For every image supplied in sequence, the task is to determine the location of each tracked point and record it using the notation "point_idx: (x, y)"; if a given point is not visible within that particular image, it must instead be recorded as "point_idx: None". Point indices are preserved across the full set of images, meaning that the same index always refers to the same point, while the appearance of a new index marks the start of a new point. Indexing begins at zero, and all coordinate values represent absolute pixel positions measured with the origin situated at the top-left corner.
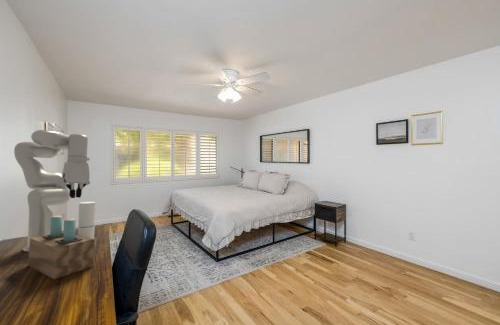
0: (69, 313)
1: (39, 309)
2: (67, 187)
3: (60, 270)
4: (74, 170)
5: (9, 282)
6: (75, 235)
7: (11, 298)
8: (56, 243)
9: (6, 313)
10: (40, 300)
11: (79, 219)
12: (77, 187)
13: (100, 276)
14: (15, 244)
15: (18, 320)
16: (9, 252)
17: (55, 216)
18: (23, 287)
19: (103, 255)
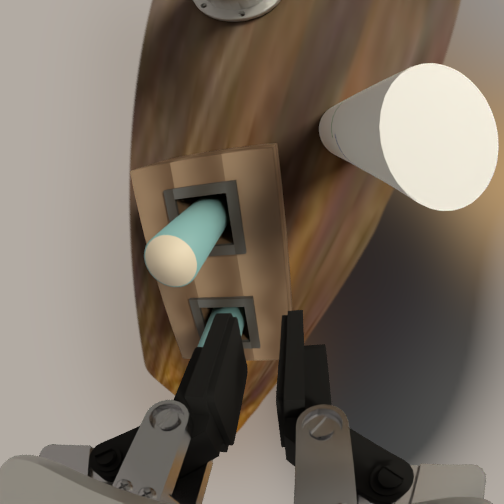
0: None
1: (176, 379)
2: (129, 433)
3: None
4: None
5: (137, 249)
6: (267, 268)
7: (145, 324)
8: (190, 321)
9: (145, 358)
10: (178, 362)
11: (343, 136)
12: (295, 432)
13: (275, 361)
14: None
15: (158, 381)
16: None
17: (164, 255)
18: (158, 297)
19: (354, 245)
